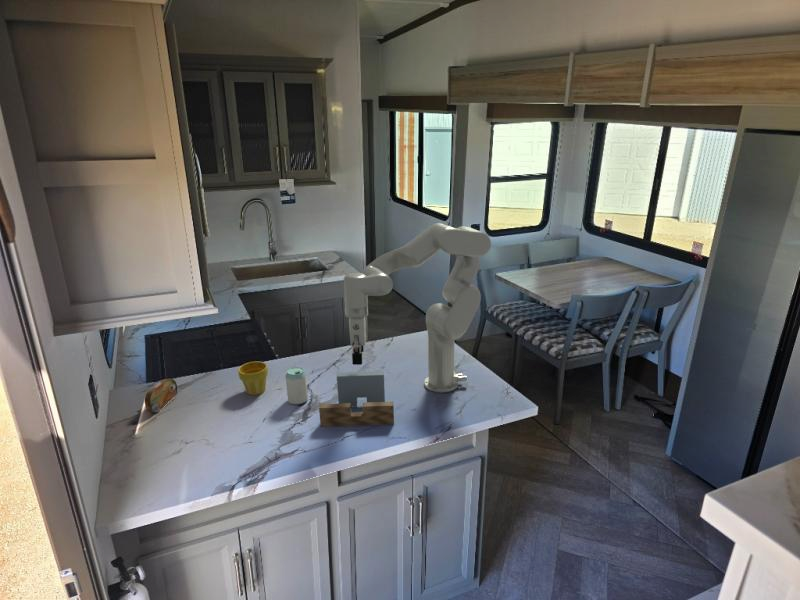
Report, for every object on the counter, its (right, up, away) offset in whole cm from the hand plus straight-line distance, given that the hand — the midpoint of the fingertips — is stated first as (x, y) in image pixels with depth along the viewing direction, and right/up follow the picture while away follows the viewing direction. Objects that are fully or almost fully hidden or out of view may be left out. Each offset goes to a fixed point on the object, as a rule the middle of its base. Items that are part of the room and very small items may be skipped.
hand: (358, 357), depth 177 cm
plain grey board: (+1, -17, +6) cm, 18 cm away
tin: (-70, -18, +9) cm, 73 cm away
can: (-22, -17, +10) cm, 29 cm away
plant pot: (-39, -14, +17) cm, 45 cm away
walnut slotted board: (0, -21, -5) cm, 22 cm away
